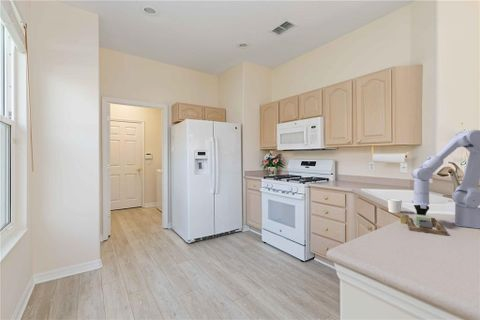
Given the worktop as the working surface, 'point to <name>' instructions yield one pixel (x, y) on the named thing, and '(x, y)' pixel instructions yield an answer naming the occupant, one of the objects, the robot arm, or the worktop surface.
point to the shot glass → (394, 205)
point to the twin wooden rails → (426, 230)
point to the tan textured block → (402, 218)
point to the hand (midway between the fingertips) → (421, 220)
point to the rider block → (421, 218)
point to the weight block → (425, 224)
